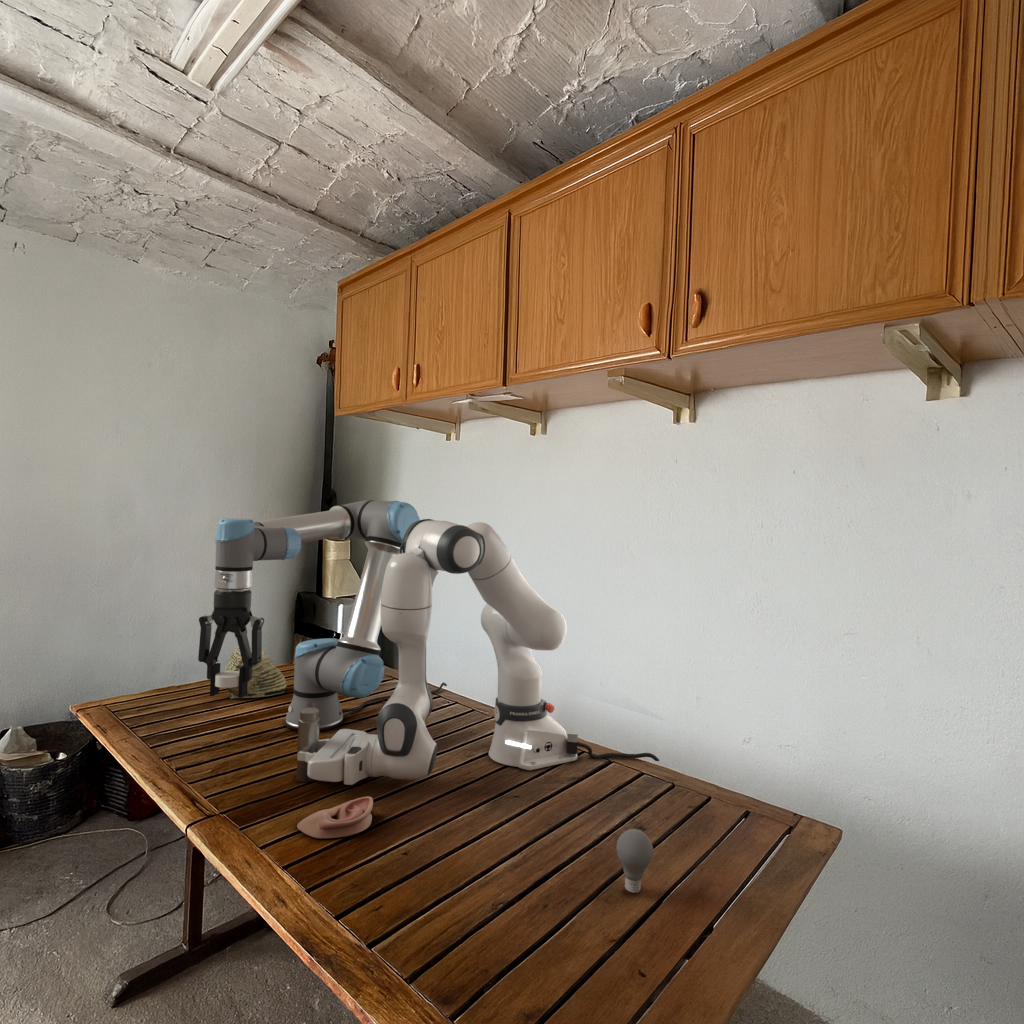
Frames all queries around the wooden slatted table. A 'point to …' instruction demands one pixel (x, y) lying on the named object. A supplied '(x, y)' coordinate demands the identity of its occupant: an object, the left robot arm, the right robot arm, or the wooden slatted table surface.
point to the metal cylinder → (307, 739)
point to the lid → (227, 679)
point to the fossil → (258, 677)
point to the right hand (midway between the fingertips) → (304, 749)
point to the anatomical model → (339, 819)
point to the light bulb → (634, 857)
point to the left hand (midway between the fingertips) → (228, 694)
